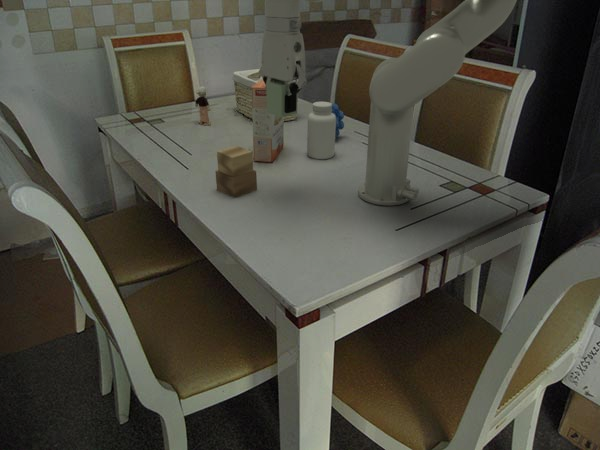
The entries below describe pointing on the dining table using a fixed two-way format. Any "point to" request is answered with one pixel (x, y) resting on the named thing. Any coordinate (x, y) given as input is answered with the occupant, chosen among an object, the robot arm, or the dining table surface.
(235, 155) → the tower mid
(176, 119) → the dining table surface
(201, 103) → the grandmother figurine
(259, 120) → the cracker box
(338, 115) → the grapes
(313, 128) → the pill bottle
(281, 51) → the robot arm
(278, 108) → the sage block
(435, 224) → the dining table surface
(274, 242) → the dining table surface
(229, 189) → the tower base
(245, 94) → the storage basket
